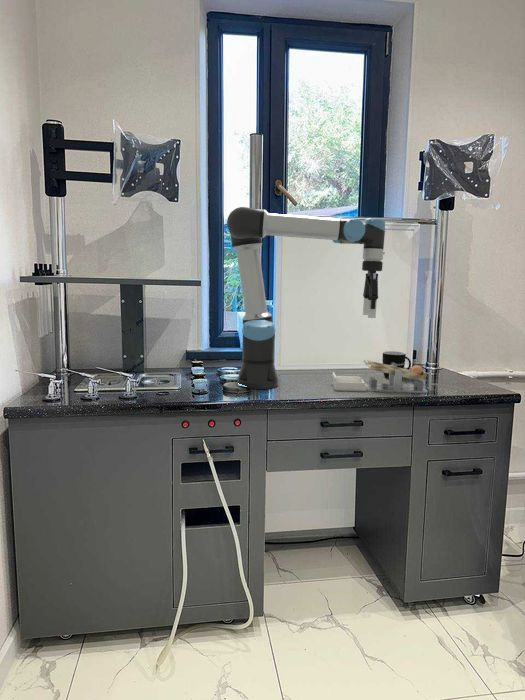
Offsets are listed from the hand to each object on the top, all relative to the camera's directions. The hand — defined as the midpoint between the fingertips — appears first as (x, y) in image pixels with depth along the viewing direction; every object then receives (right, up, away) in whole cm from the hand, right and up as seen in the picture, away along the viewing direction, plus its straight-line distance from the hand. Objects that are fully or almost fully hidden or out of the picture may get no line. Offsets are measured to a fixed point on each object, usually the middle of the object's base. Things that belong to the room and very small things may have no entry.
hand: (368, 316), depth 197 cm
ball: (+15, -20, -12) cm, 28 cm away
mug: (+13, -24, +10) cm, 29 cm away
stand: (+7, -27, -11) cm, 30 cm away
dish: (-9, -27, -10) cm, 30 cm away
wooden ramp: (+7, -22, -7) cm, 24 cm away
